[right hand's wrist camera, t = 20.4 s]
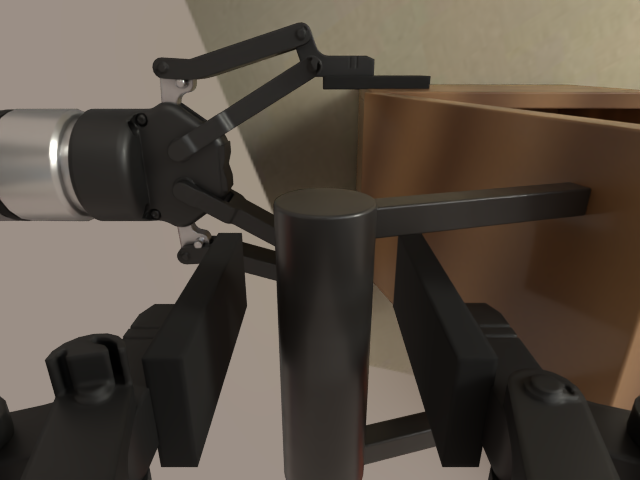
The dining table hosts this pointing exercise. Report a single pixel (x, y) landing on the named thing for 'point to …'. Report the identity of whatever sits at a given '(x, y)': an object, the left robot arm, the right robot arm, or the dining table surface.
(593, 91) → the chest
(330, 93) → the dining table surface
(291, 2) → the dining table surface
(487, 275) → the lid
